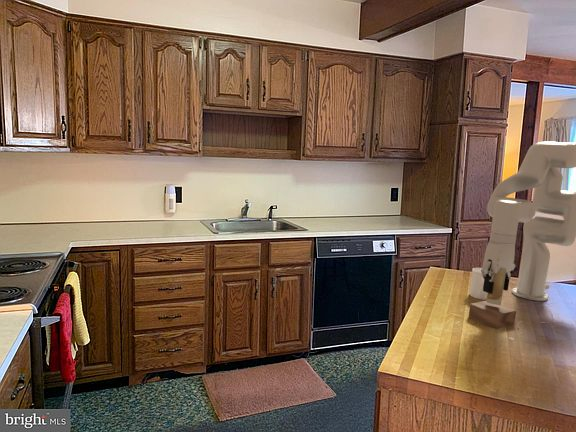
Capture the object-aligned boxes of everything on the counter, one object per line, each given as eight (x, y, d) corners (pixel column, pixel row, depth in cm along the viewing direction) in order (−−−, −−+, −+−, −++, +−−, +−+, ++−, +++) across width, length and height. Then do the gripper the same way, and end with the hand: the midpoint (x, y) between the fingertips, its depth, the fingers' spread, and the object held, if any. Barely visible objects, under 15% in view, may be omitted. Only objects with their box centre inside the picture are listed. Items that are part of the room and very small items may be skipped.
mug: (492, 305, 161) (496, 278, 160) (468, 300, 165) (471, 274, 163) (492, 295, 172) (495, 270, 170) (469, 291, 176) (472, 266, 174)
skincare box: (486, 297, 150) (491, 262, 147) (500, 299, 148) (506, 264, 146) (486, 303, 144) (491, 267, 142) (501, 306, 142) (506, 269, 140)
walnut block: (487, 313, 154) (489, 299, 153) (514, 324, 145) (516, 310, 144) (468, 317, 149) (470, 303, 148) (494, 329, 140) (496, 314, 139)
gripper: (508, 234, 150) (501, 284, 153) (475, 237, 141) (468, 290, 144) (529, 239, 143) (521, 291, 146) (496, 243, 135) (488, 298, 138)
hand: (495, 290), depth 145 cm, fingers closed on skincare box, 7 cm apart
